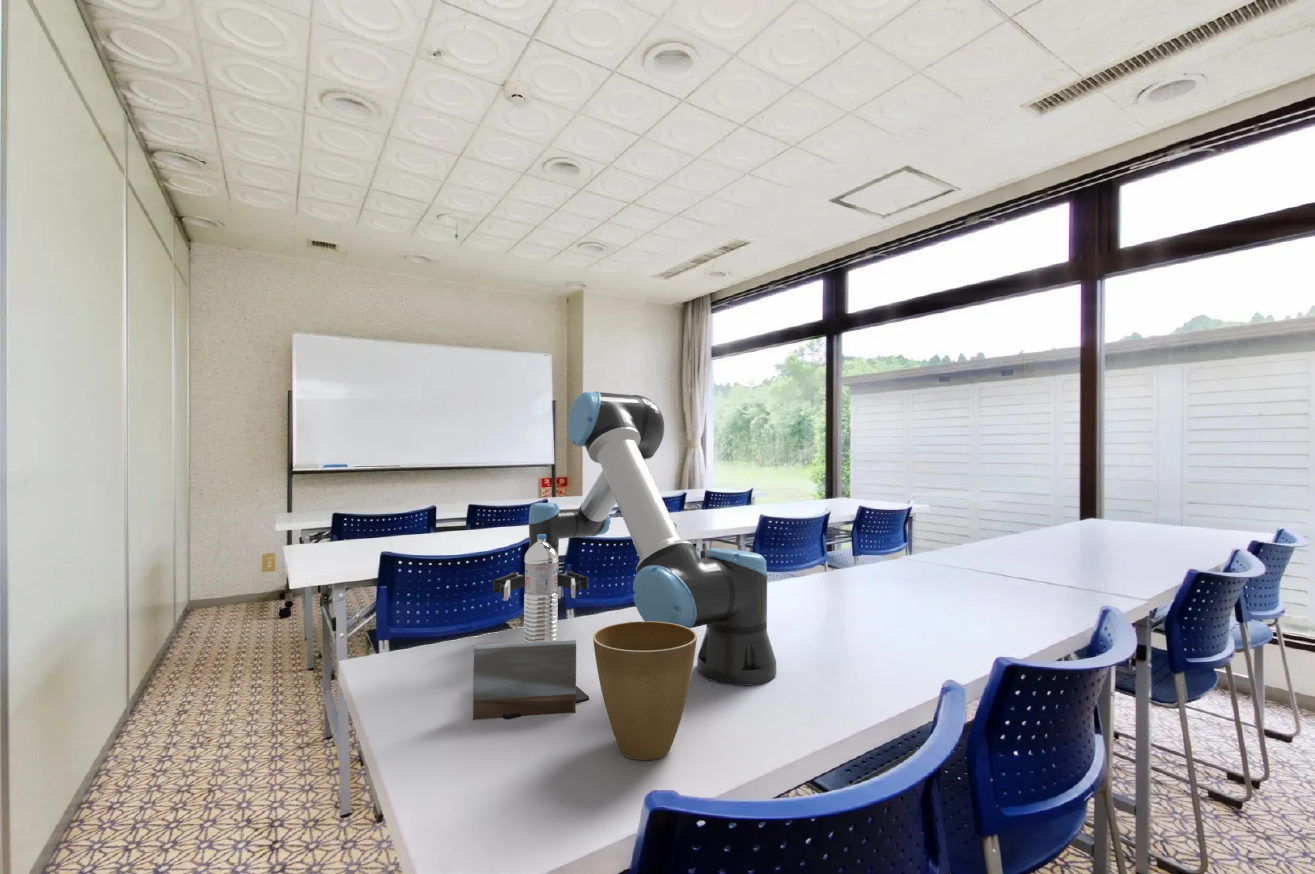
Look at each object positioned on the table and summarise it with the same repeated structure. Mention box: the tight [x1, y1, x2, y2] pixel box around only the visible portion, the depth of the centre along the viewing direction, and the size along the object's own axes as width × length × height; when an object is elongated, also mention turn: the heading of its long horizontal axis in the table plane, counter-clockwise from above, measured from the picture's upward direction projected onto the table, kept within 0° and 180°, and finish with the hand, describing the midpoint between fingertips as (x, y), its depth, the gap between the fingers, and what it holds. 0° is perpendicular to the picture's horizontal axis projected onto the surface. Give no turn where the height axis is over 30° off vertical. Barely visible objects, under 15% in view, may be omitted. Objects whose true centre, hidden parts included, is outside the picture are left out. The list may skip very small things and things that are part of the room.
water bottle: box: [523, 534, 559, 643], centre depth 121 cm, size 7×7×25 cm
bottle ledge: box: [472, 639, 577, 721], centre depth 100 cm, size 14×16×11 cm
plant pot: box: [592, 620, 698, 761], centre depth 84 cm, size 15×15×16 cm
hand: (540, 592), depth 119 cm, fingers open, 13 cm apart
